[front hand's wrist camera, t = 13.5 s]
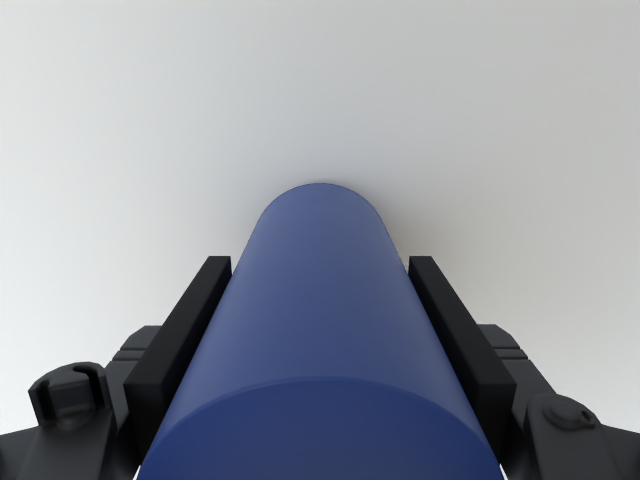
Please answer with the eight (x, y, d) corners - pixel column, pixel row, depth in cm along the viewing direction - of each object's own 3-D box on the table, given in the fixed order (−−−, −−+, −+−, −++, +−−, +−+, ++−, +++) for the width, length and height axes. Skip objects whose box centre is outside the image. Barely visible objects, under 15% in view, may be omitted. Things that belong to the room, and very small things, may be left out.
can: (230, 209, 18) (54, 444, 6) (364, 162, 17) (465, 325, 5) (282, 323, 20) (226, 663, 8) (403, 286, 19) (537, 600, 7)
